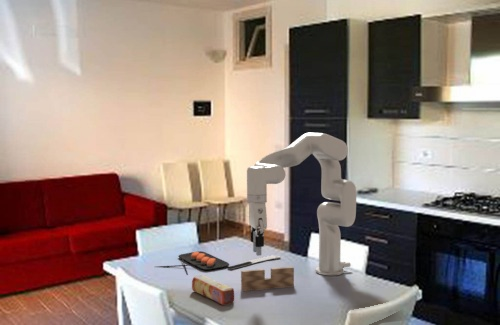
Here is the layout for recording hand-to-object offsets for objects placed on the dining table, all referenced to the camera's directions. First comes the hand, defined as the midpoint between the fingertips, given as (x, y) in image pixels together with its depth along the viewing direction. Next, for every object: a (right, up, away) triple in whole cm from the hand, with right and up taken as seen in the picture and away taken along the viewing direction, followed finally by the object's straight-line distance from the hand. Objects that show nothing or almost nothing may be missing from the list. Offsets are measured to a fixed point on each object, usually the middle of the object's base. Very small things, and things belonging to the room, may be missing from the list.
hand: (257, 243), depth 204 cm
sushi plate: (-32, -18, +46) cm, 59 cm away
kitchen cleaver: (-2, -17, +50) cm, 53 cm away
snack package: (-17, -22, +3) cm, 28 cm away
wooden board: (+4, -20, +13) cm, 24 cm away
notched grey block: (0, -4, 0) cm, 4 cm away
